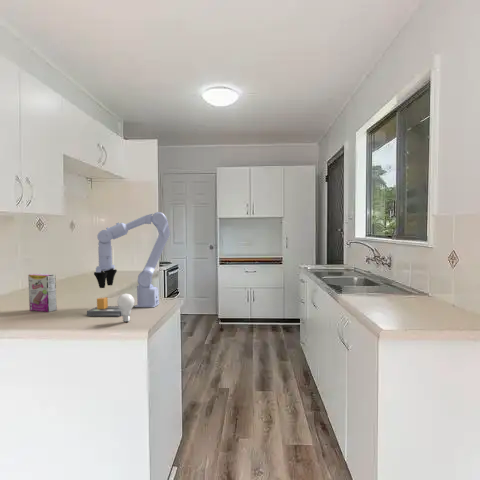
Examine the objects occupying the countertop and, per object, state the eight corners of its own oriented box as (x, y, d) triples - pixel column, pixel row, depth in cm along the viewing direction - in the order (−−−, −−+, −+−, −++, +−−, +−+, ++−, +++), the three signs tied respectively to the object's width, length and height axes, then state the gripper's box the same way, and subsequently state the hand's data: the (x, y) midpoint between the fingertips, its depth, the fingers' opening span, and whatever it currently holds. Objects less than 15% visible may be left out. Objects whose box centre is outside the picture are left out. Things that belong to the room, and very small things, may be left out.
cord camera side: (119, 316, 160) (119, 313, 160) (118, 317, 159) (118, 314, 158) (90, 316, 161) (90, 313, 161) (89, 316, 160) (89, 313, 160)
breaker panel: (130, 310, 170) (130, 306, 170) (121, 316, 160) (121, 311, 160) (98, 310, 172) (98, 305, 172) (86, 315, 162) (86, 310, 162)
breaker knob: (107, 307, 168) (107, 297, 168) (103, 309, 164) (103, 298, 164) (101, 307, 168) (100, 297, 168) (97, 308, 165) (96, 298, 164)
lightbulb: (119, 320, 152) (119, 292, 152) (136, 319, 153) (135, 292, 152) (116, 324, 146) (115, 295, 146) (133, 323, 146) (132, 294, 146)
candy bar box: (28, 311, 173) (27, 274, 173) (37, 309, 178) (36, 273, 177) (48, 312, 170) (47, 275, 169) (57, 310, 174) (56, 273, 174)
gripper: (104, 255, 183) (105, 284, 184) (88, 258, 169) (89, 289, 169) (118, 255, 183) (119, 284, 183) (104, 257, 168) (105, 289, 169)
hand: (106, 286), depth 176 cm, fingers open, 7 cm apart
